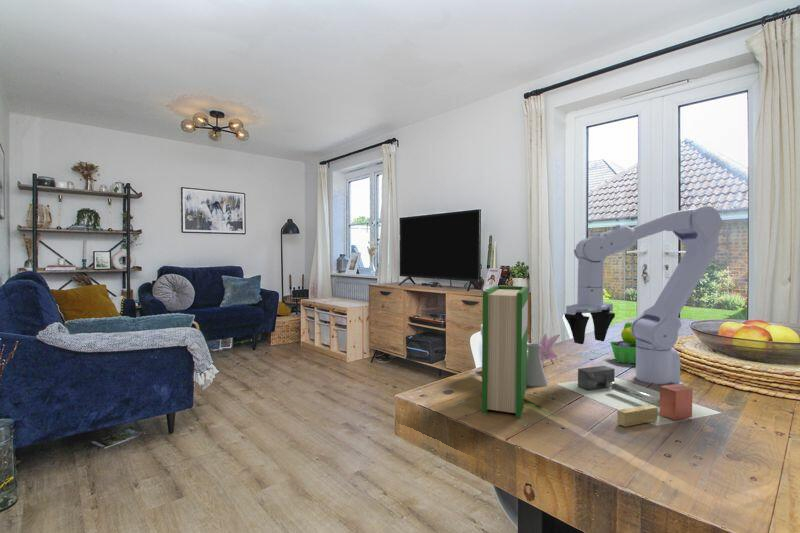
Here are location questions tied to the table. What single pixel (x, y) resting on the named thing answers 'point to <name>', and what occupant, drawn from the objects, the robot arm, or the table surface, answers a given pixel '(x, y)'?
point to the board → (633, 400)
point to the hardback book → (504, 349)
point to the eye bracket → (595, 377)
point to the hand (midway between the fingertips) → (589, 342)
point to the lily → (547, 348)
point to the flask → (535, 366)
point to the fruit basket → (625, 346)
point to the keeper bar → (637, 415)
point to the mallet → (664, 399)
